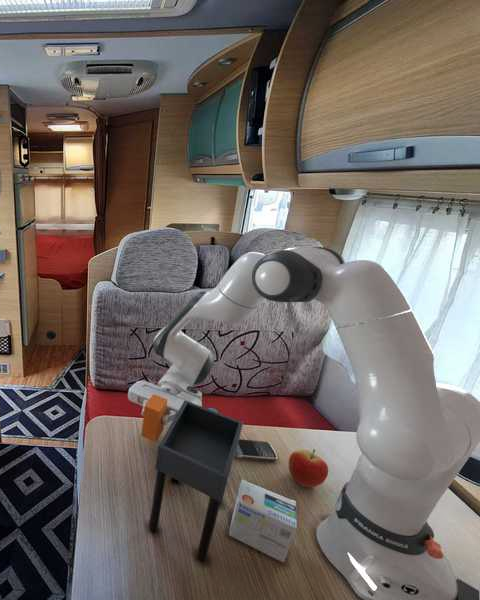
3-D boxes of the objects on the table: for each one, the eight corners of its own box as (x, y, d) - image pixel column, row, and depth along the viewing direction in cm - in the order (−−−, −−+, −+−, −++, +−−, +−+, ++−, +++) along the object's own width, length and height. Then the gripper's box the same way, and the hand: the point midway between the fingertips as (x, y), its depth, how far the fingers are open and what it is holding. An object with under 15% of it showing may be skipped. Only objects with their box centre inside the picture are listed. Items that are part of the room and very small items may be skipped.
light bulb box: (284, 535, 71) (297, 500, 67) (284, 565, 66) (298, 529, 62) (231, 510, 76) (241, 476, 72) (227, 536, 71) (237, 501, 67)
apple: (279, 479, 84) (289, 449, 81) (290, 462, 89) (300, 434, 86) (315, 501, 79) (328, 471, 75) (325, 482, 84) (337, 453, 80)
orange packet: (163, 429, 90) (167, 399, 86) (155, 442, 85) (159, 411, 82) (150, 423, 92) (153, 393, 88) (141, 436, 87) (144, 405, 84)
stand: (222, 501, 78) (236, 444, 72) (204, 564, 66) (220, 501, 59) (172, 476, 84) (181, 421, 78) (147, 529, 72) (156, 468, 65)
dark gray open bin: (238, 444, 72) (243, 422, 69) (221, 502, 59) (227, 478, 57) (181, 420, 78) (184, 400, 76) (155, 468, 65) (158, 445, 63)
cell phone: (278, 462, 89) (279, 458, 89) (236, 459, 90) (237, 455, 89) (268, 445, 95) (269, 441, 94) (229, 441, 96) (229, 438, 95)
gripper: (139, 370, 101) (119, 394, 90) (207, 394, 90) (193, 424, 80) (138, 387, 103) (117, 412, 92) (204, 413, 93) (190, 444, 82)
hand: (153, 418), depth 86 cm, fingers closed on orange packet, 4 cm apart
